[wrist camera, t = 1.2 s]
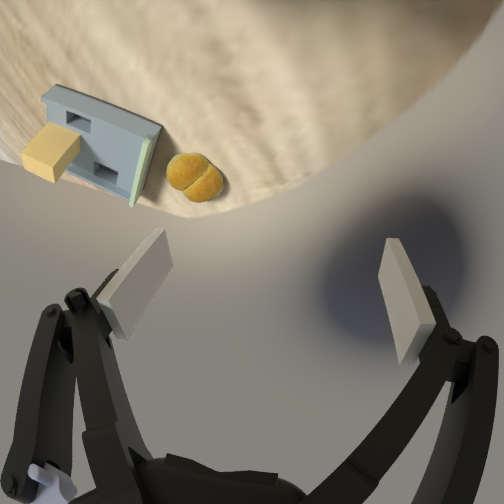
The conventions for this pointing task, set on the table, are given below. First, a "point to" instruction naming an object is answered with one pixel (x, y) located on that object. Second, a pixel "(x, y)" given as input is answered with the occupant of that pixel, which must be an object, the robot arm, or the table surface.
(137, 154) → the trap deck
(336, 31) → the table surface
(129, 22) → the table surface
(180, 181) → the bread roll
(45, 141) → the ochre block
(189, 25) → the table surface
